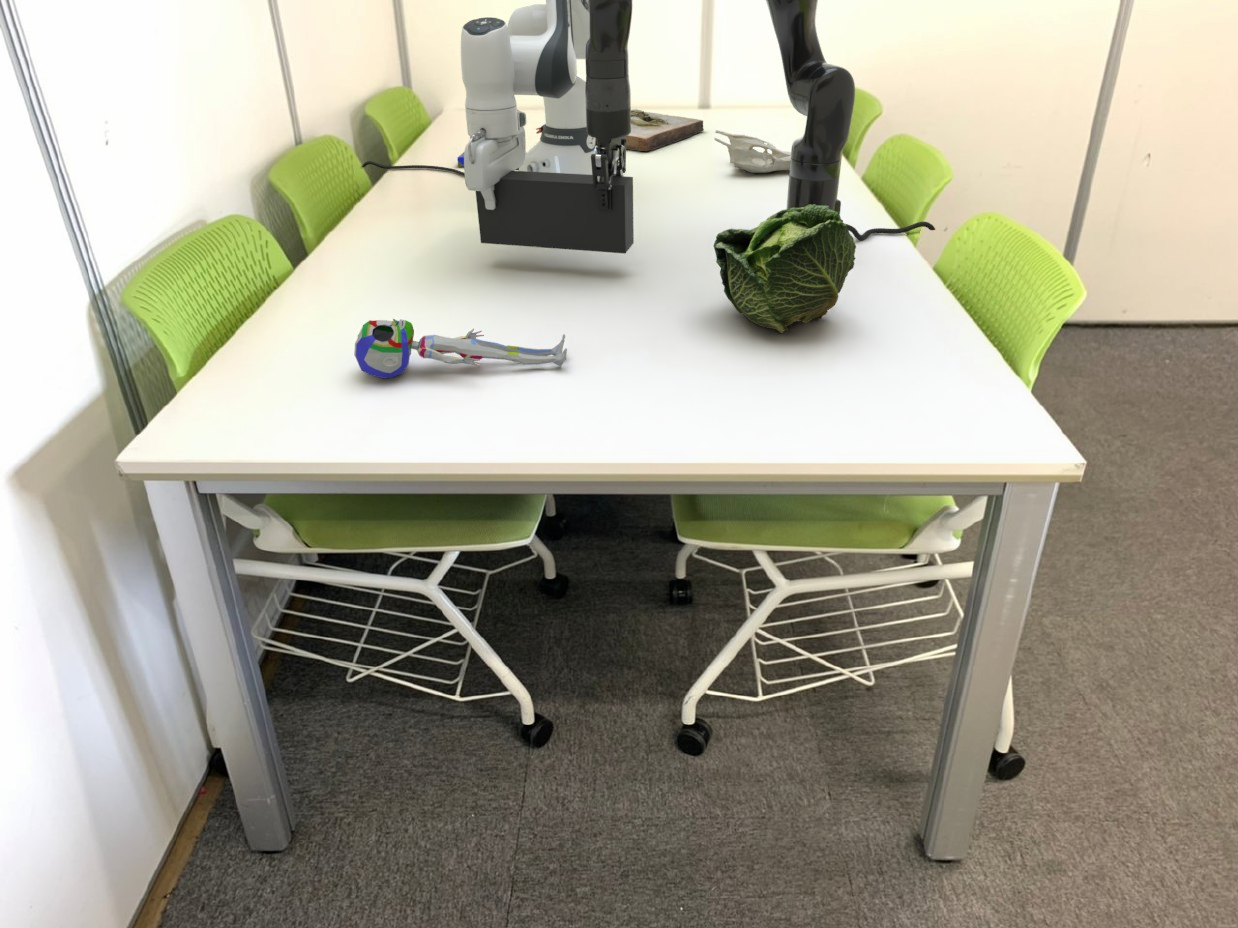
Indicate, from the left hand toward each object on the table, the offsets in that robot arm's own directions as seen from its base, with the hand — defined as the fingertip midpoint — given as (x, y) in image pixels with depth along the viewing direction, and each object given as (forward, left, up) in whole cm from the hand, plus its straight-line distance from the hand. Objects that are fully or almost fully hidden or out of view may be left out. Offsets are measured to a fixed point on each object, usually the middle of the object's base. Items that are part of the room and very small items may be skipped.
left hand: (499, 203), depth 163 cm
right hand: (+20, +5, +1) cm, 21 cm away
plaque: (-31, +105, -12) cm, 110 cm away
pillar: (-57, +63, -12) cm, 86 cm away
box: (+10, +3, -7) cm, 13 cm away
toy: (+21, -39, -12) cm, 46 cm away
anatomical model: (+17, +86, -12) cm, 88 cm away
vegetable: (+56, 0, -12) cm, 57 cm away
